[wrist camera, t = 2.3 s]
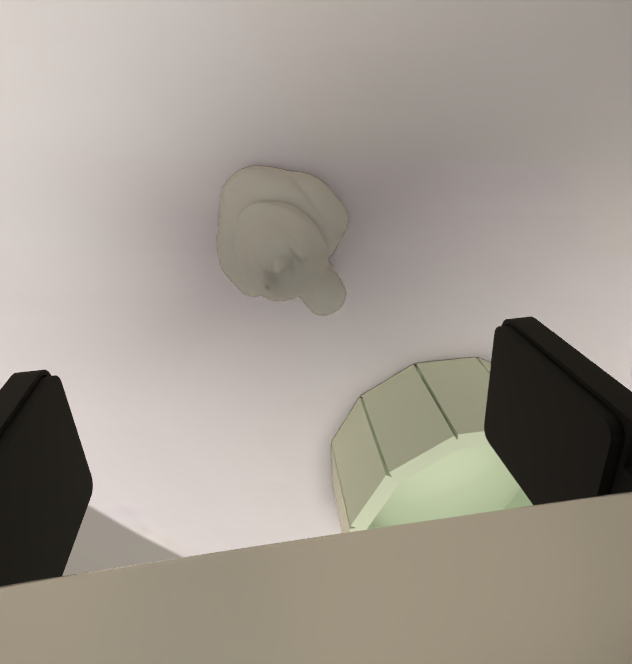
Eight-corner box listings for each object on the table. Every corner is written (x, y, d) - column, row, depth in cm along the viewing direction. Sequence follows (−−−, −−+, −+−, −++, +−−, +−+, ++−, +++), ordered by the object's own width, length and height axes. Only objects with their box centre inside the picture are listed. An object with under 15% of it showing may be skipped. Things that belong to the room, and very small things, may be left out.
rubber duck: (285, 125, 21) (303, 147, 14) (372, 247, 23) (426, 319, 16) (185, 207, 22) (154, 268, 15) (281, 315, 24) (293, 411, 17)
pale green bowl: (327, 372, 26) (347, 447, 21) (559, 348, 27) (635, 413, 22) (335, 543, 32) (352, 636, 26) (527, 518, 33) (581, 603, 27)
